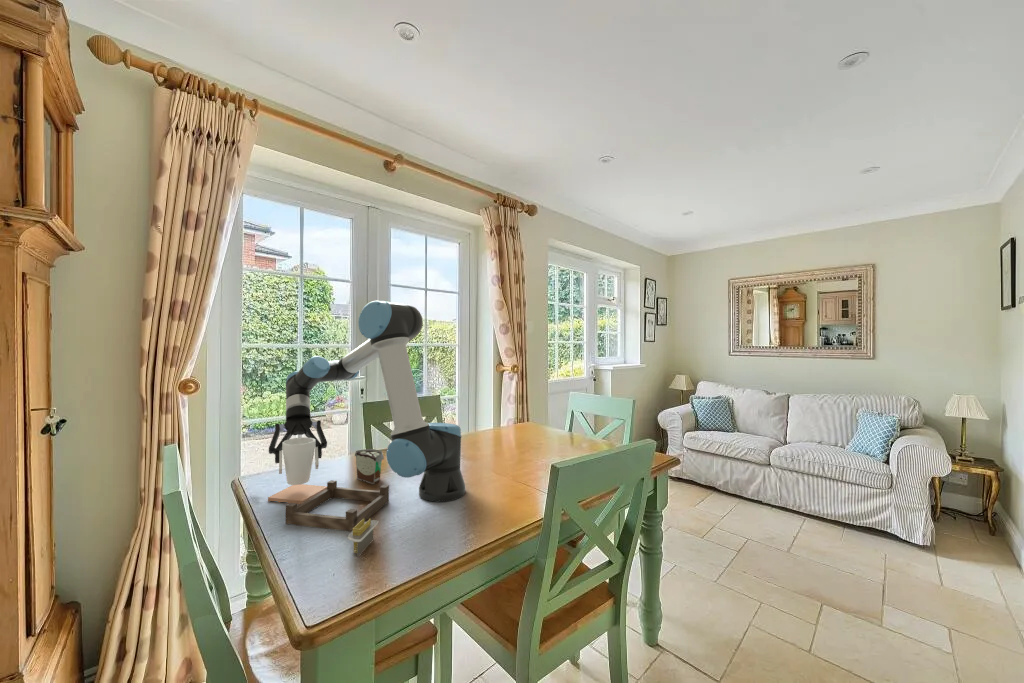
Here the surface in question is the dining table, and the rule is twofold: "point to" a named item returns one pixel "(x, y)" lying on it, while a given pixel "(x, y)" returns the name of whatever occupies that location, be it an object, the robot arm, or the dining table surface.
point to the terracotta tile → (297, 493)
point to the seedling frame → (303, 518)
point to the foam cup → (298, 459)
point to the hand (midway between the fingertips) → (299, 469)
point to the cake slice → (369, 465)
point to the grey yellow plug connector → (362, 535)
